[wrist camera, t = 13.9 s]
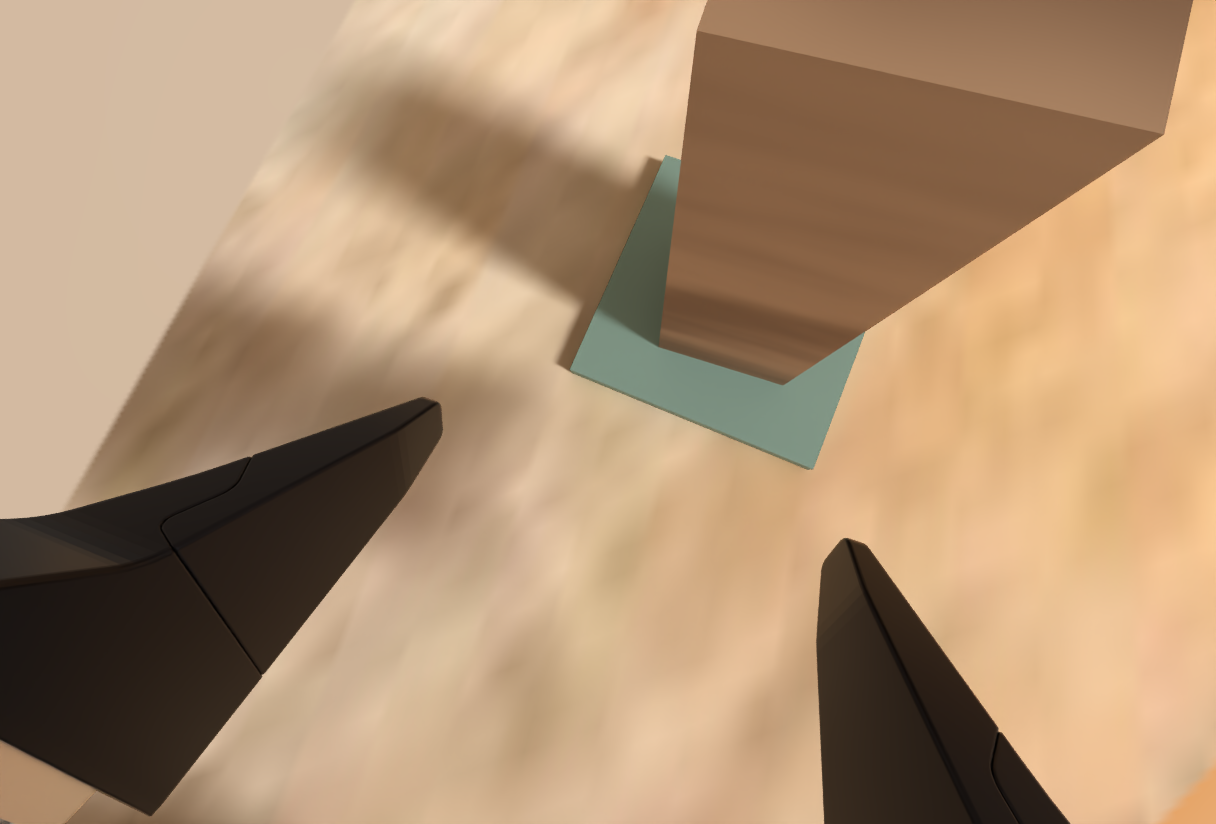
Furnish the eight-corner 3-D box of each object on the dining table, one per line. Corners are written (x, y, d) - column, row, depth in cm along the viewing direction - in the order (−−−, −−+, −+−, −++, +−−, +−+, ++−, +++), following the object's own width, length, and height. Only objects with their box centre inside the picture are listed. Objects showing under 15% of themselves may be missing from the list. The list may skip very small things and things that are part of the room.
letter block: (783, 385, 18) (1164, 134, 5) (658, 347, 18) (696, 30, 5) (819, 264, 18) (1246, -252, 5) (697, 230, 19) (817, -309, 6)
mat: (893, 242, 19) (901, 234, 18) (807, 469, 18) (813, 469, 17) (664, 164, 20) (665, 154, 19) (571, 372, 19) (569, 369, 18)
